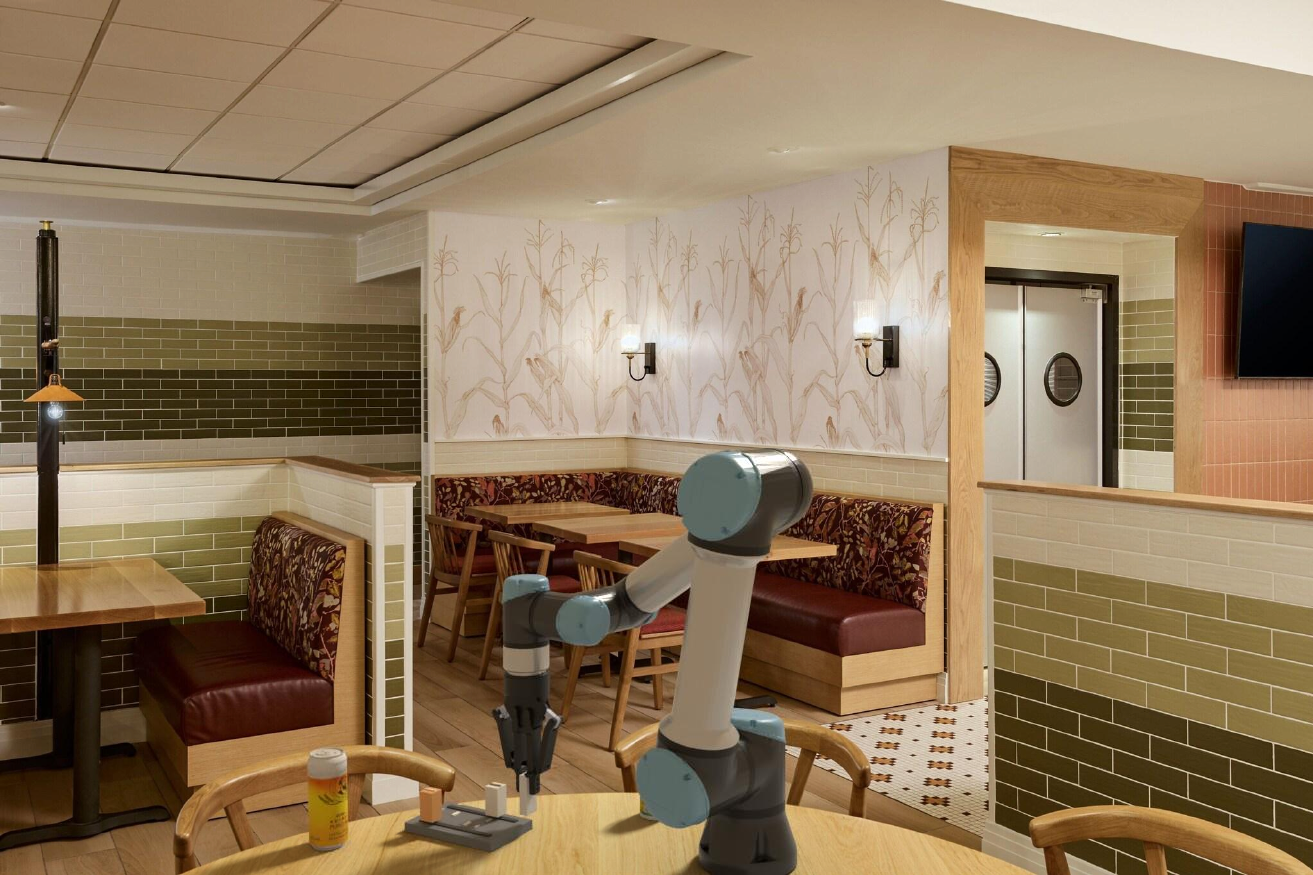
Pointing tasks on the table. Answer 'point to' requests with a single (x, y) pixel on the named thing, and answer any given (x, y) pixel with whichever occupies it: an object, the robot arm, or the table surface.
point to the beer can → (327, 798)
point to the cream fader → (495, 799)
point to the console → (471, 827)
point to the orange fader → (430, 804)
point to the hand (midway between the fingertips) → (528, 812)
